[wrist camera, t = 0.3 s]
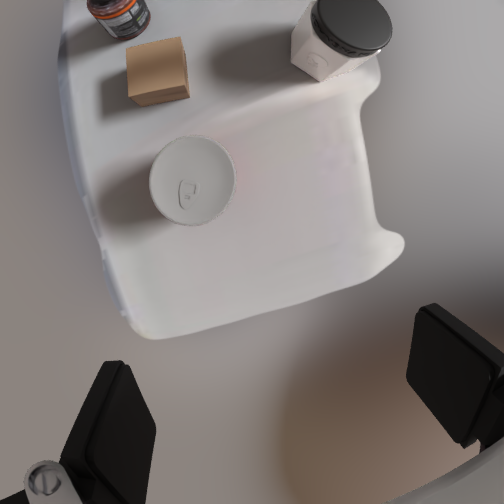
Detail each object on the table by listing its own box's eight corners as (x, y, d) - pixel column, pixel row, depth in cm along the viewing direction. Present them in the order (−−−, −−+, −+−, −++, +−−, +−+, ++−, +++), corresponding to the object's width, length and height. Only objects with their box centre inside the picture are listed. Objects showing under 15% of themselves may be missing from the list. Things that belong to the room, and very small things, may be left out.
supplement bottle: (112, 9, 27) (84, -31, 17) (154, 3, 28) (136, -42, 17) (105, 44, 29) (71, 10, 18) (148, 38, 30) (125, -2, 19)
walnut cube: (138, 64, 31) (125, 48, 25) (185, 55, 31) (180, 36, 25) (142, 107, 32) (128, 96, 27) (190, 97, 33) (184, 85, 27)
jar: (274, 54, 32) (297, 13, 21) (306, 15, 31) (336, -29, 19) (333, 94, 34) (377, 69, 23) (360, 53, 33) (406, 22, 21)
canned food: (170, 211, 36) (151, 229, 26) (167, 146, 34) (145, 138, 23) (233, 208, 37) (238, 224, 26) (230, 142, 35) (235, 131, 24)
